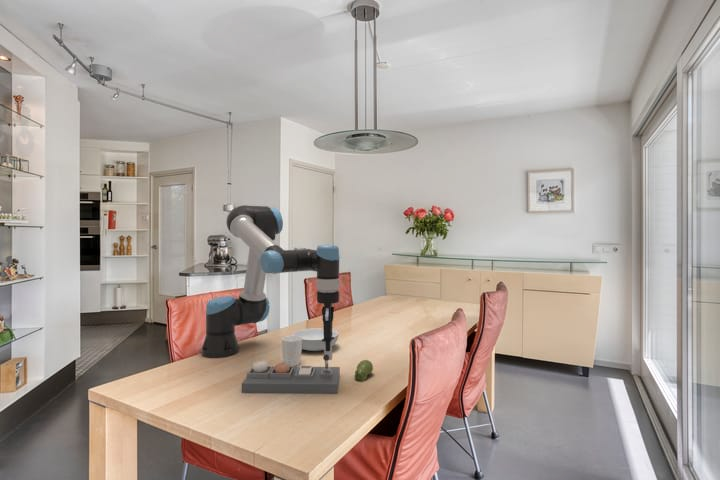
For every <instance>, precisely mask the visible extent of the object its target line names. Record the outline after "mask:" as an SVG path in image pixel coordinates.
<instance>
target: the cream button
mask: <svg viewBox="0 0 720 480" xmlns="http://www.w3.org/2000/svg"><path fill="white" fill-rule="evenodd" d="M252 366H253V372H255V373H263V372H266V371H268V366H269V362H268V361H267V360H264V359H263V360H255V361H254V362H253V363H252Z"/></svg>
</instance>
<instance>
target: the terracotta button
mask: <svg viewBox="0 0 720 480" xmlns="http://www.w3.org/2000/svg"><path fill="white" fill-rule="evenodd" d="M274 366H275V373H289V367H290V366H289V364H284V363H277V364H276V365H274Z"/></svg>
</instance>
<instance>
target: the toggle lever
mask: <svg viewBox="0 0 720 480" xmlns="http://www.w3.org/2000/svg"><path fill="white" fill-rule="evenodd" d="M322 359H323V360H324V366H323V367H324V368H323V372H331V367H332V366H329V361H330V360H329V356H328V355H324V354H323V356H322Z"/></svg>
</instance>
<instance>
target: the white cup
mask: <svg viewBox="0 0 720 480" xmlns="http://www.w3.org/2000/svg"><path fill="white" fill-rule="evenodd" d="M281 346H282V347H281V349H282V358H283V360H282V361H283V363H282V364H289V366H294V367H297V366H298V365H299V366H300V364H302V363H301V362H302V361H301V358H302V351H303V349H302V337H300V336H292V335H287V336H283V337H282V338H281Z"/></svg>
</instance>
